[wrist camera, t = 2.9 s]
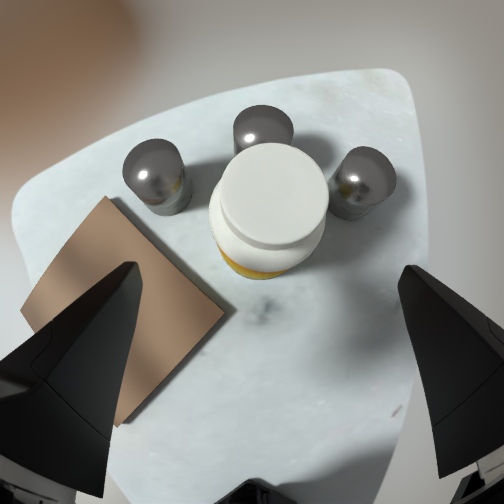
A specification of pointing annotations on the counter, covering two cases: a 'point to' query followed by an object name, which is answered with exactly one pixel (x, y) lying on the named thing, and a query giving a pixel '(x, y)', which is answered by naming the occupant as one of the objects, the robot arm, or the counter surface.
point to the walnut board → (151, 304)
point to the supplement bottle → (268, 210)
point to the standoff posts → (246, 135)
